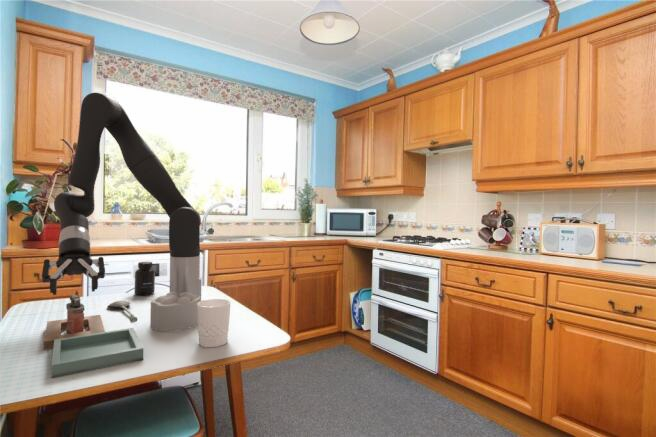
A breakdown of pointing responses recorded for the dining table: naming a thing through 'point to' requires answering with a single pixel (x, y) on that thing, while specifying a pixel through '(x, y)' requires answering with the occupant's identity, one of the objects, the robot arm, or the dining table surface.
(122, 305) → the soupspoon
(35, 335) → the dining table surface
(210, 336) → the white cup
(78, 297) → the lighter
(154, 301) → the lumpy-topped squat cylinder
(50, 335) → the holder
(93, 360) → the tray
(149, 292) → the supplement bottle
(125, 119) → the robot arm
